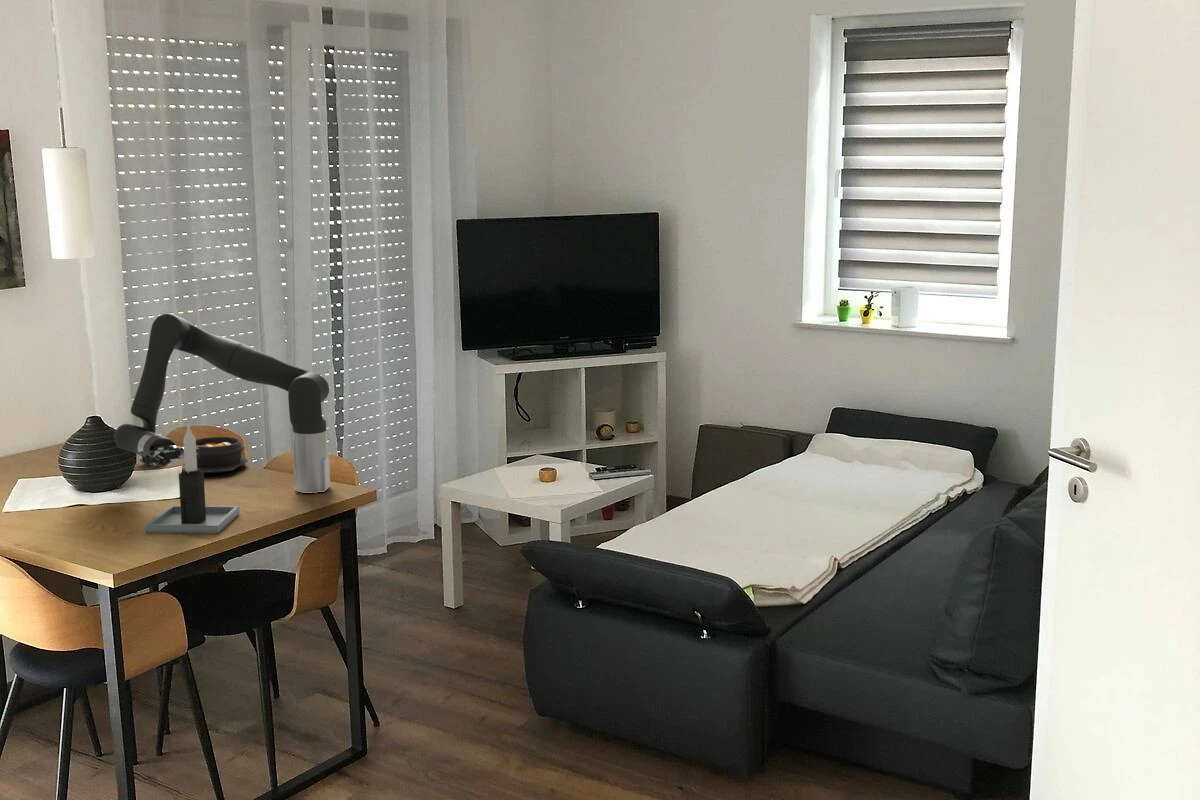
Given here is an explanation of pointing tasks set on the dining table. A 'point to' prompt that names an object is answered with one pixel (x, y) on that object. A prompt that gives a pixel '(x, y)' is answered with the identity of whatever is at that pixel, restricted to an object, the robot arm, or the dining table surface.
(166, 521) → the tray
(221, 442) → the casserole
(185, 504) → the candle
